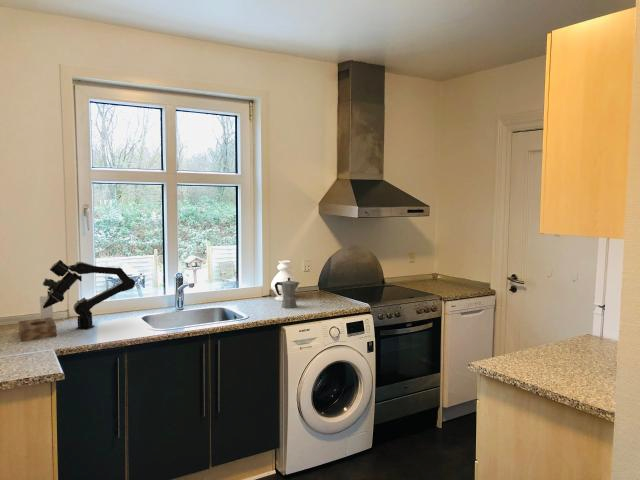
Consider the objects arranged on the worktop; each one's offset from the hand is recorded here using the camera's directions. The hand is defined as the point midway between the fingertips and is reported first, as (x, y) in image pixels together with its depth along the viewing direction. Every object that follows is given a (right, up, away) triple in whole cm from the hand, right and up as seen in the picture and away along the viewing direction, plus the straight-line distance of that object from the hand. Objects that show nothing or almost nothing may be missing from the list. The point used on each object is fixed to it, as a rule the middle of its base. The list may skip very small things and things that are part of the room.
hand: (43, 306), depth 248 cm
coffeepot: (+118, -8, +58) cm, 131 cm away
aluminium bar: (+1, -5, +1) cm, 5 cm away
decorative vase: (+114, -6, +83) cm, 141 cm away
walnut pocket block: (-2, -13, 0) cm, 14 cm away
